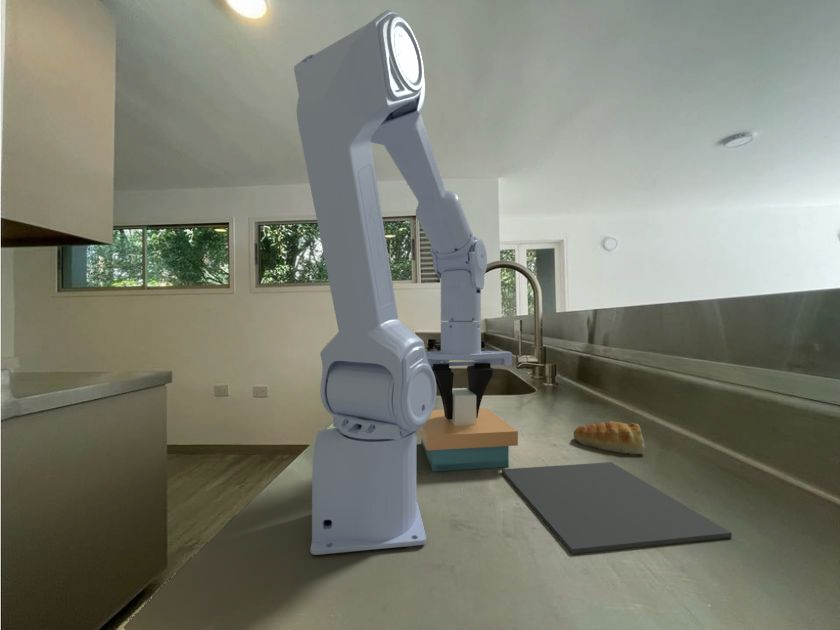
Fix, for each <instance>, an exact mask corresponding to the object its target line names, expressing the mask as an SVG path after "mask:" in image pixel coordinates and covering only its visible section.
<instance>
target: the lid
mask: <svg viewBox="0 0 840 630" xmlns="http://www.w3.org/2000/svg"><path fill="white" fill-rule="evenodd" d="M452 405H453V416H452V419H449V420H448V419H447V418H446V417H445V414H444V409H433V411H432V413H431V415H430V417H429V419H428V420H427V421H426V423H425V424H424V425H423V427H421V428H420V429H418V430H417V431H418V433H419V435H420V439H421V438H422V441H423V443H424V445H425V448H426V450H444V449H462V448H480V447H498V446H508V447H513V446H516V447H517V446H519V431H518V430H517V429H516V428H515V427H513V426H512V425H510V424H509V423H507V421H505V420H503V419H502V418H501V417H499V416H498V415H497V414H496V413H494V412H493V411H492V410H490V409H489V408H488V407H479V412H478V418H476V395H475V394H474V393H473V392H471V391H470V390H469V388H467V387H462V388H460V387H453V388H452Z"/></svg>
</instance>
